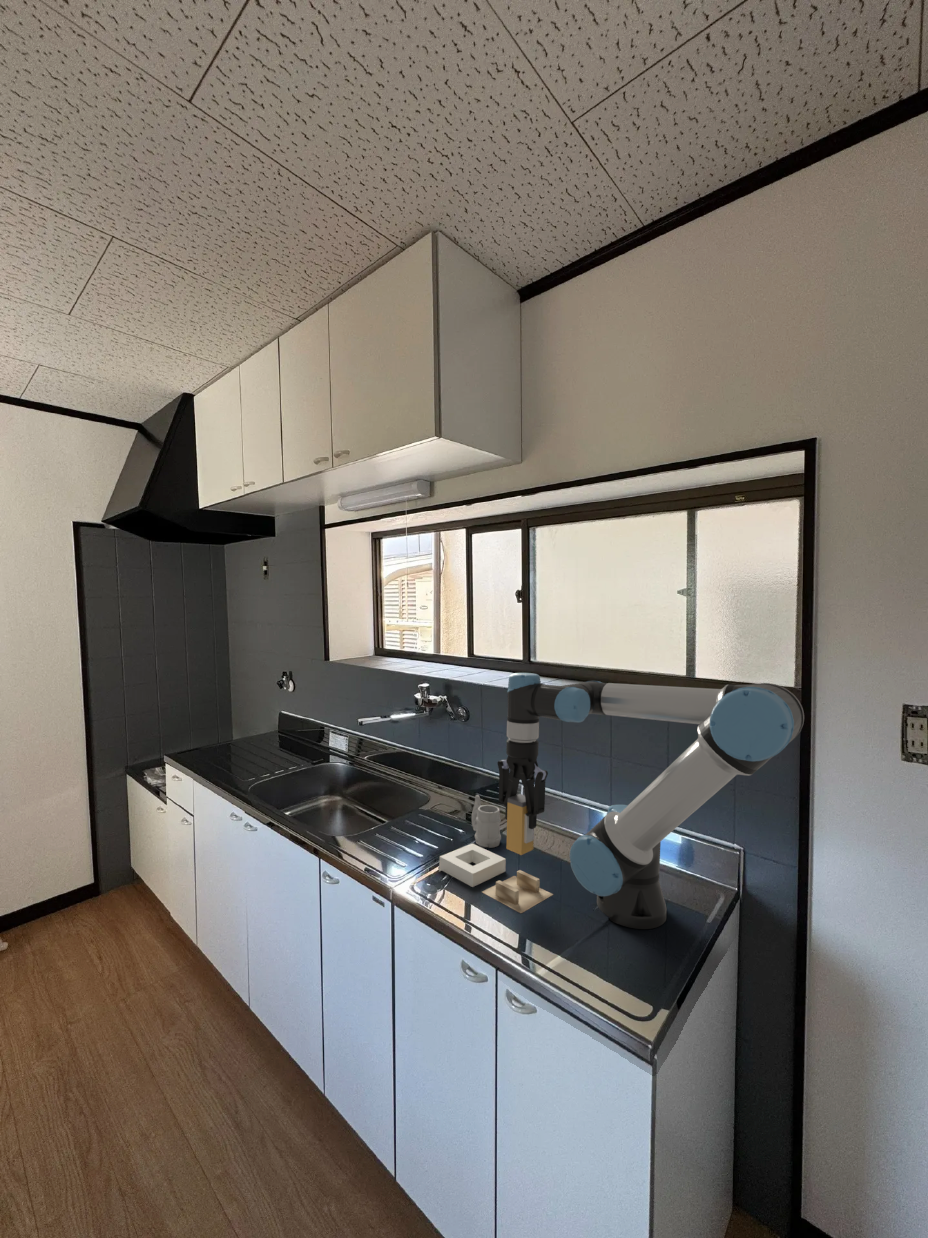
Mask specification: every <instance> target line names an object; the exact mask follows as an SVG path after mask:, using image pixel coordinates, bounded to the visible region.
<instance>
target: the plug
mask: <svg viewBox="0 0 928 1238" xmlns="http://www.w3.org/2000/svg"><path fill="white" fill-rule="evenodd" d="M526 813H528V812H527V806H526V799H525V794H522V793H517V795H515V796H512V797H509V798H508V804H507V820H506V845H505V847H506V850H509V851H511V852H512V853H513V852H514V854H518V855H520V856H522V855H525V854H526V853H527V854H528V853H530V852H531V851H533V850H534V845H535V844H534V841H535V839H534V840H533V841H531V842H529V843H524V823H525V814H526Z"/></svg>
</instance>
